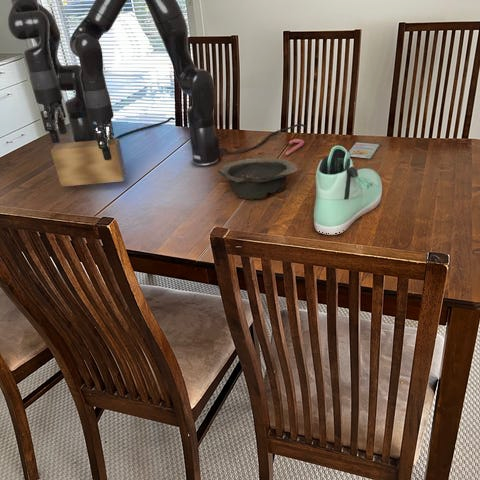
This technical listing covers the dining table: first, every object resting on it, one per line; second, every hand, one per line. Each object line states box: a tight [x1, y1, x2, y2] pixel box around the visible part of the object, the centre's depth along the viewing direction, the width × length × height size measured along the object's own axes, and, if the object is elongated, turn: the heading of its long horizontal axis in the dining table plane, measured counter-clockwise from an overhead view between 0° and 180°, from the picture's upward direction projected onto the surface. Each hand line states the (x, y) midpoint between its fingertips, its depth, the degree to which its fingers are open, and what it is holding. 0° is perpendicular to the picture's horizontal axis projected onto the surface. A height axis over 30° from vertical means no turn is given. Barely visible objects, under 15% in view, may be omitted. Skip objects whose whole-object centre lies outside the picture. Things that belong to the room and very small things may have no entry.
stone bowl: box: [217, 157, 299, 201], centre depth 152 cm, size 25×25×9 cm
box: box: [50, 138, 127, 187], centre depth 155 cm, size 20×6×12 cm, turn 93°
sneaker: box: [313, 145, 383, 236], centre depth 133 cm, size 14×35×20 cm, turn 152°
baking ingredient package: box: [347, 141, 380, 159], centre depth 175 cm, size 9×1×15 cm
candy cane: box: [284, 138, 305, 156], centre depth 182 cm, size 6×15×2 cm, turn 145°
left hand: (60, 138), depth 150 cm, fingers open, 8 cm apart
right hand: (110, 155), depth 154 cm, fingers closed on box, 6 cm apart
